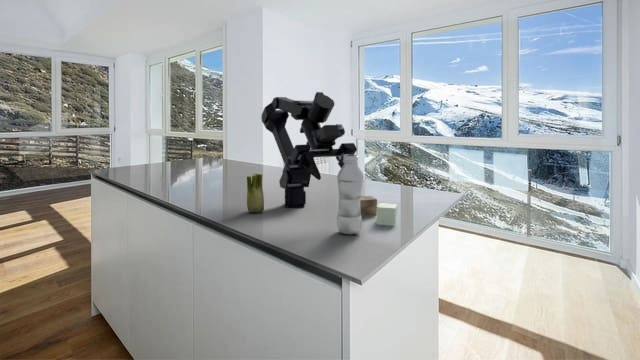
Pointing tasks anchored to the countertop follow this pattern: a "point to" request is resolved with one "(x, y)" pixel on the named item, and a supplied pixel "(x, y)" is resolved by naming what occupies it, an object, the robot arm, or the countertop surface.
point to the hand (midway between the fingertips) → (334, 177)
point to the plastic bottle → (349, 196)
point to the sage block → (386, 214)
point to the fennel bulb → (255, 194)
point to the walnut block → (368, 205)
